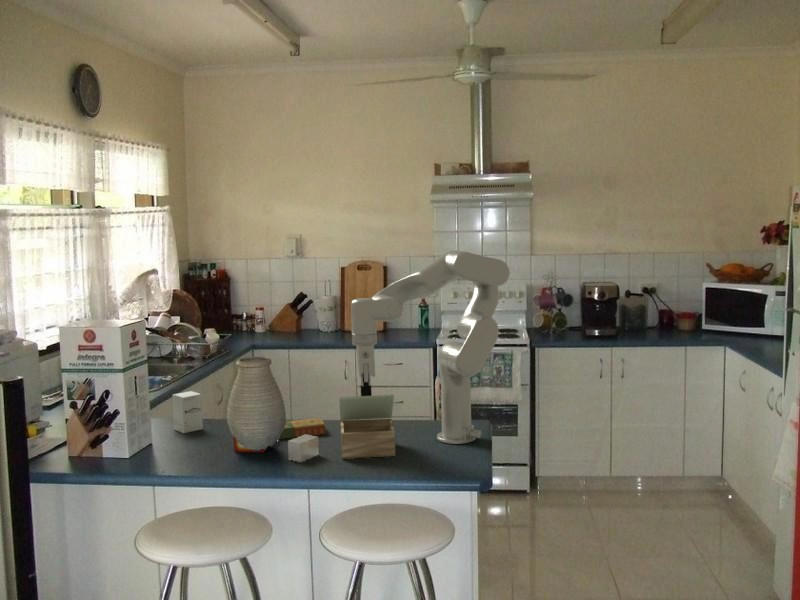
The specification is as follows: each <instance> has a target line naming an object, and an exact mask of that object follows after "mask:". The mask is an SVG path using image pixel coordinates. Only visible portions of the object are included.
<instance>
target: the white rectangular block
mask: <svg viewBox="0 0 800 600" xmlns="http://www.w3.org/2000/svg"><path fill="white" fill-rule="evenodd" d="M287 449H288V452H287V453H288V454H287V455H288V461H291V460H293V462H295V461H297V462H296V463H300V462H302V463H304V462H306V461H305V460H307V459H309V460H311V459H313V458H312V457H314V456H316V457H318V456H317V455H319V436H318V435H317V436H312V435H307V434H305V435H302V436H300V437H297V438H291V439H288V440H287ZM319 456H320V455H319ZM310 458H311V459H310ZM314 458H315V457H314ZM303 461H304V462H303ZM307 461H308V460H307Z"/></svg>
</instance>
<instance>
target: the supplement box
mask: <svg viewBox="0 0 800 600" xmlns="http://www.w3.org/2000/svg"><path fill="white" fill-rule="evenodd" d="M171 397H172V411H173V430H175V431H177V432H179V433H181V434H186V433H191V432H196V431H201V430H203V427H204V425H203V408H202V406H203V405H202V394H201V393H199V392H196V391H192V390H191V391H184V392H180V393H179V392H178V393H173V394H172V396H171Z"/></svg>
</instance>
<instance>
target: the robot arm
mask: <svg viewBox="0 0 800 600" xmlns="http://www.w3.org/2000/svg"><path fill="white" fill-rule="evenodd" d="M510 272H511V271H510V268H509V266H508V264H507V263H506V262H505V261H504V260H502V259H499V258H498V259H497V258H494V257H491V256H490V257H489V256H486V255H485V256H484V255H480V254H477V253H472V252H469V251H463V250H450V251H449V250H448V251H447V252H445V253H444V254H442V255H441V256H439V257H438V258H435V259H434V260H433V261H431V262H429V264H427V265H425V266H424V267H422V268H421V269H419V270H418V271H416V272H414V273H412V274H409V275H407V276H406V277H402V278H401V279H399V280H396V281H394V282H392V283H390V284H389V285H388V286H386V287H384V288H383V289H381V290H380V291H378V292H376V294H374V295H373V296H371V297H359V298H355V299H353V300H351V302H350V316H351V317H350V319H351V320H350V321H351V344H352V345H353V346H355V347H356V349H355V350H356V351H355V352H356V362H357V363H356V366H357V370H358V371H357V372H358V376H359V378H360V383H361V384H360V396H373V395H372V384H371V377H372V378H375V377H376V362H375V361H376V359H375V357H376V356H375V345H377V344H378V338H377V333H378V332H377V330H378V329H377V322H390V323H391V322H396V321H398V320H399V319H400V318H401V317H402V316H403V313H404V304H406V303H407V302H410V301H412V300H416V299H424V298H426V297H430V296H433V295H434V294H435V293H437V292H439V291H440V290H441V289H443V288H444V287H445V286H447V285H449V284H450V283H452V282H453V281H455V280H456V279H459V280H464V281H465V280H466V281H469V282H471V283H472V285H473V293H472V296H471V298H470V300H469V302H468V305H467V306H466V308H465V309H464V312H463V314H462V315H461V317H460V319H459V321H458V323H457V325H456V326H457V327H456V332H457V335H458V336H459V337H460V338H461V339H462V340H463V342H459V341H455V340H454V341H447V342H446V343H444V344H443V345H442V346H441V347H440V349H439V351H438V354H437V363H438V369H439V374H440V375H439V376H440V398H441V399H440V402H441V404H440V405H441V409H440V410H441V413H440V414H441V431H440V432H439V433H437V434H436V439H437V440H438V441H439V442H442V443H445V444H451V445H462V444H468V443H471V442H474V441H475V440H476V439H481V438H482V437H481V436H482V431H481V430H479V429H475V425H474V424H472V398H471V396H472V395H471V394H472V393H471V391H472V387H471V386H472V385H471V379H470V378H471V377H474V376H476V375H477V374H478V373H480V371H481V370H482V368H483V367H484V365H485V363H486V361H487V360H488V358H489V356H490V354H491V352H492V350H493V348H494V346H495V344H496V343H497V340H498V337H499V331H500V330H499V326H498V323H497V321H496V320H495V319H494V318H493V315H494V313H495V311H496V308H497V307H498V304H499V299H500V294H499V287H500V286H502V285H504V284H506V282H508V280H509V277H510V274H511V273H510Z"/></svg>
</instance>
